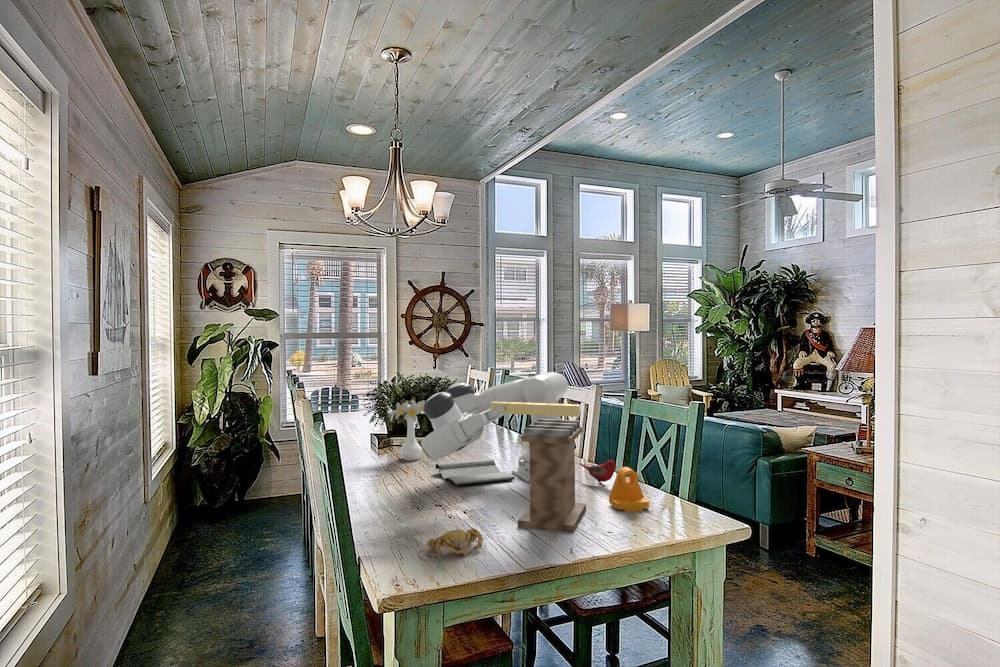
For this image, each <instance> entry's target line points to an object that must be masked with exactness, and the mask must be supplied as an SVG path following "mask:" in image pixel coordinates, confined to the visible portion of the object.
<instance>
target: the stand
mask: <svg viewBox="0 0 1000 667" xmlns="http://www.w3.org/2000/svg"><path fill="white" fill-rule="evenodd" d="M582 432H583V427H582V426H581V421H580V420H575V419H561V420H554V419H538V422H534V425H532V424H529V425H528V427H524V428H523V434H522V435H521V442H526V443H528V442H530V443H529V445H530V481H529V506H528V508H527V509H526V510H525V511H524V513H523V514H522V515H520V517H519V519H518V520H517V528H523V529H533V530H543V531H550V532H551V531H552V532H563V533H572V534H573V533H575V532H576V528H577V527H578V525H579V523H581V520H582V519H583V517H584V514H585V512H586V511H587V503H586V502H576V471H575V470H576V467H575V466H576V465H575V464H576V463H575V461H576V457H575V455H576V451H575V450H576V449H575V448H576V445H575V443H576V442H575V440H576V439H577V438H578V437H579V435H580V434H581V433H582Z"/></svg>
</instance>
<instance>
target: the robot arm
mask: <svg viewBox="0 0 1000 667" xmlns="http://www.w3.org/2000/svg"><path fill="white" fill-rule="evenodd" d="M567 380H568V379H567V378H566V377H565V376H564V375H563V374H561V373H559V372H556V371H548V372H545V373H540V374H535V375H533V376H529V377H525V378H520V379H517V380H512V381H509V382H505V383H500V384H496V385H494V386H491V387H487V388H486V389H483V390H481V391H478V392H476V391H477V390H478V388H477V387H474V386H473V385H472V384H470V383H468V382H455V383H453V384H451V385H450V386H448V387H447V388H446V390H445V391H441V392H439V391H438V392H436V393H435V394H432V395H431V396H430V397H429V398H427V399H426V400H425V404H424V409H423V412H424V413H425V415H426V417H427V418H428V419H429V421H430V422H431V427H432V428H433V431H431V432H430V433H428V434H427V435H425V437H423V439H422V440H421V442H420V446H421V448H422V452H424V454H425V456H426V457H427V458H428V459H429V460H431V461H433V462H434V461H437V460H440V459H443V458H446V457H449V456H450V455H452V454H454V453H457V452H458V451H459V452H460V450H462V449H464V448H465V447H467V446H468V445H470V444H472V443H474V442H475V441H478V440H479V439H481V436H482V435H483V433H484V428H485V426H486V425H489V424H490V423H492V422H494V421H496V420H498V419H500V418H501V417H503V416H504V415H505V414H502V413H501V412H503V411H505V407H504V405H501V406H499V407H497V408H495V409H493V410H491V402H522V403H550V404H557V401H559V400H560V399H562V398H563V396H565V394H566V393H567V392H568V389H569V388H568V387H569V383H568V381H567ZM424 413H423V414H424ZM561 417H562V416H549V415H530V419H531V425H534V422H538V419H554V420H562V418H561ZM527 444H529V446H528V449H527V450H526V451H525V452H523V454H522V455H520V456H519V458H518V464H517V467H516V468H513V469H512V470H511V473H512V474H514V475H515V476H517V477H519V478H520V479H522V480H524V482H525V481H526V482H530V442H527Z"/></svg>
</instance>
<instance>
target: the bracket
mask: <svg viewBox="0 0 1000 667" xmlns="http://www.w3.org/2000/svg"><path fill="white" fill-rule="evenodd" d="M627 476H629V477H628V478H627ZM626 478H627V479H626ZM639 479H640V478H639V474H638V473H637V471H634V470H633V469H632V468H631V467H628V466H623V467H621V468H619V470H618V471H617V473H616V476H615V479H614V482H613V484H612V487H611V490H610V492H609V495H608V496H609V497H608V502H609V504H610V505H611V506H612V507H613V508H614V509H615V510H622V511H624V512H641V511H643V509H648V508H650V500H649V499H647V498H646V497H645V495H644V493H643V491H642V490H643V489H642V488H641V485H640V482H639V481H640V480H639Z"/></svg>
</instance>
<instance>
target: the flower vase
mask: <svg viewBox="0 0 1000 667" xmlns="http://www.w3.org/2000/svg"><path fill="white" fill-rule="evenodd" d="M410 401H411V404H410V403H408V400H406V401H405V402H403V403H402V404H400V402H397V403H395V404H396V409H394V410H393V409H391V407H390V406H389V405H388V404H387V405H386V406H387V409H388V410H387V414H388V416H389V421H390V423H392V422H393V419H395V420H397V419H398V418H400V416H401V415H404V416H403V419H404V420H406V425H407V427H406V428H407V429H406V430H407V432H406V439H405V441H404V444H402V446H401V447H400V450H399V452H400V455H401V456H402V457H403V459H404V460H405V461H416V460H419V458H420V457H419V456H421V455H422V454H423V453H422V452H423V448H422V446H421V444H419V442H418V441H417V439H416V433H415V422H416V421H417V415H419V414H421V415H423V414H425V413H424V412H423V409H424V404H425V403H426V400H424V399H423V400H421V401H418V402H416V400H414V399H411V400H410ZM425 415H426V414H425ZM394 417H395V418H394Z"/></svg>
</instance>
